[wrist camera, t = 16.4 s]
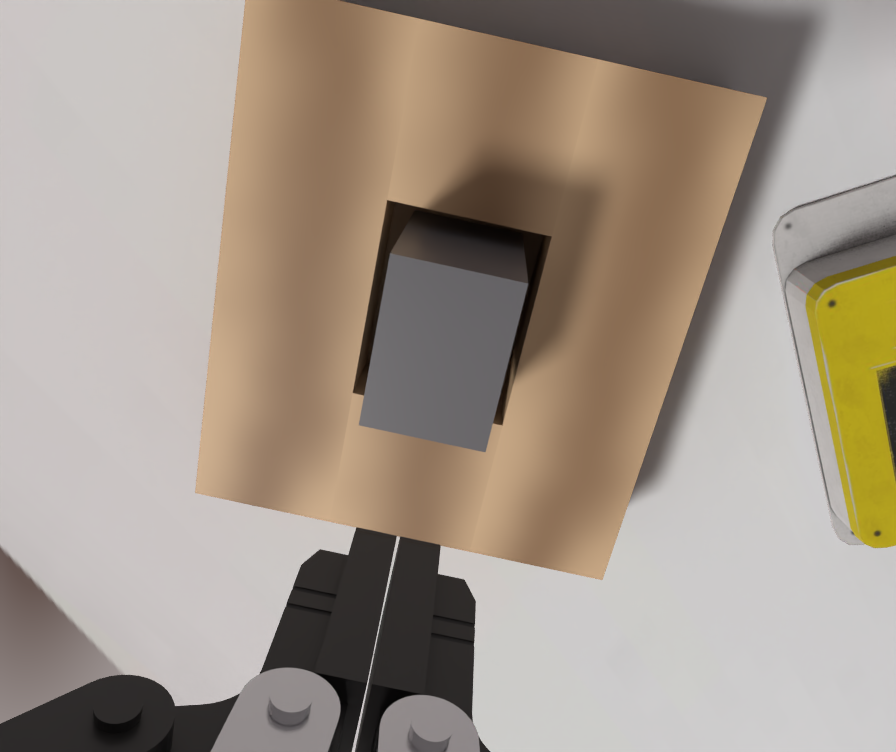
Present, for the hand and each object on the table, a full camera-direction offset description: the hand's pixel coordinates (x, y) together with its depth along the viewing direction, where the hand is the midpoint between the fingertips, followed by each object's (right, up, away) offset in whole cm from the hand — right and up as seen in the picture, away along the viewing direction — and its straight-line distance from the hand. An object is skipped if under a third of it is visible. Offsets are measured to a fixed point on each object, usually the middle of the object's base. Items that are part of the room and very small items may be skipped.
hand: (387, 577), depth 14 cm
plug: (+1, +7, +16) cm, 18 cm away
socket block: (+1, +7, +17) cm, 19 cm away
